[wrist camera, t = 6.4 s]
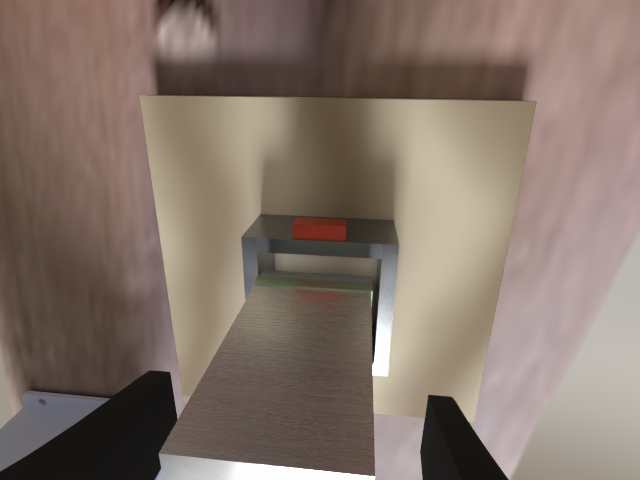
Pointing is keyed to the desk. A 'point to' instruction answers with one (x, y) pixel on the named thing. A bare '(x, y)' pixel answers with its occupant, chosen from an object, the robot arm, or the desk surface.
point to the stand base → (344, 202)
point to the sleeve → (331, 241)
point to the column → (285, 388)
